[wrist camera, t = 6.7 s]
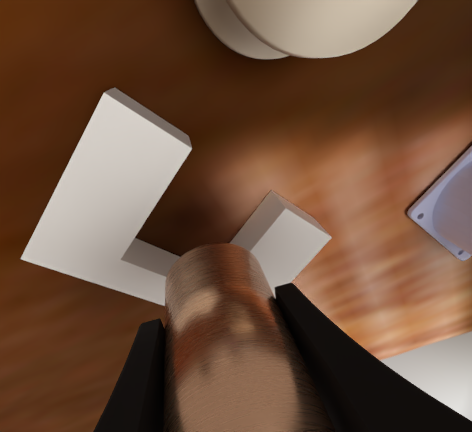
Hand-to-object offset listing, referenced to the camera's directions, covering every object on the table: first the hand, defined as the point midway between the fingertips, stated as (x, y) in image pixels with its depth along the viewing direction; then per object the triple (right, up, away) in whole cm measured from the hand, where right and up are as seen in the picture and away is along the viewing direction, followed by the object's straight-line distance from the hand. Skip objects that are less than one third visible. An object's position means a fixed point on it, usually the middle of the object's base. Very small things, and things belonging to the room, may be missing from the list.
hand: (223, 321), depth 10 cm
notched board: (-2, +3, +7) cm, 8 cm away
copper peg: (0, +1, +2) cm, 2 cm away
